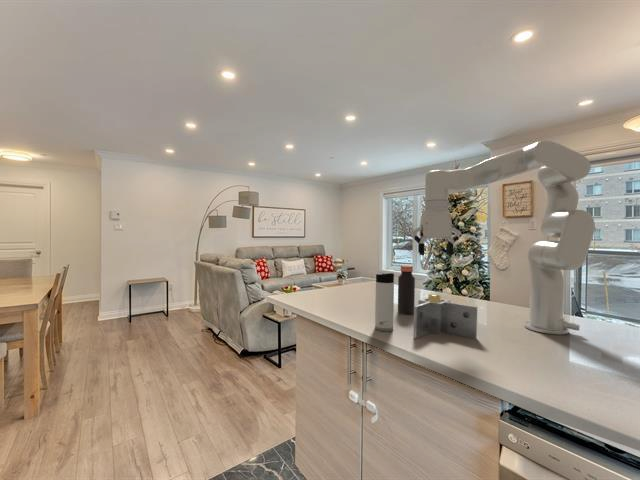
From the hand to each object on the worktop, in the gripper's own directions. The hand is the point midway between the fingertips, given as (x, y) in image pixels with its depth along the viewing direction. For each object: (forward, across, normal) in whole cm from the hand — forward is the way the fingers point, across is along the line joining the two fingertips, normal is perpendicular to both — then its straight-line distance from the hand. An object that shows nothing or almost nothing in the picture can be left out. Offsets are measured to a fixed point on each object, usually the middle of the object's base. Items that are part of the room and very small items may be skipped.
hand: (435, 255), depth 107 cm
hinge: (+26, 0, +7) cm, 27 cm away
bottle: (+26, +4, -22) cm, 35 cm away
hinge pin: (+26, 0, 0) cm, 26 cm away
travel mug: (+26, +18, +1) cm, 32 cm away
